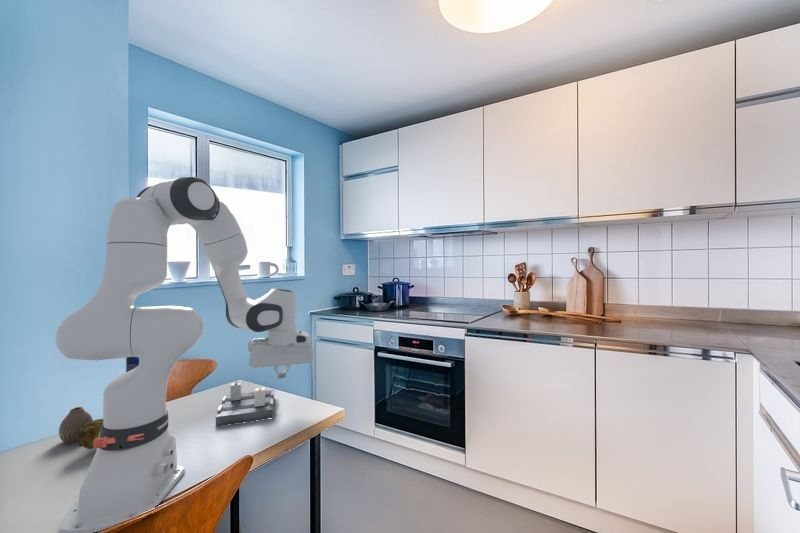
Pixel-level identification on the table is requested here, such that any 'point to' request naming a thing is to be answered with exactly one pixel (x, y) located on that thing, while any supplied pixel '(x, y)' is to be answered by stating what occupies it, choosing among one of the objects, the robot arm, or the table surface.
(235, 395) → the fader
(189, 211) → the robot arm
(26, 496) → the table surface
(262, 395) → the fader
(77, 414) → the vase
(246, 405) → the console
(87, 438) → the potato
